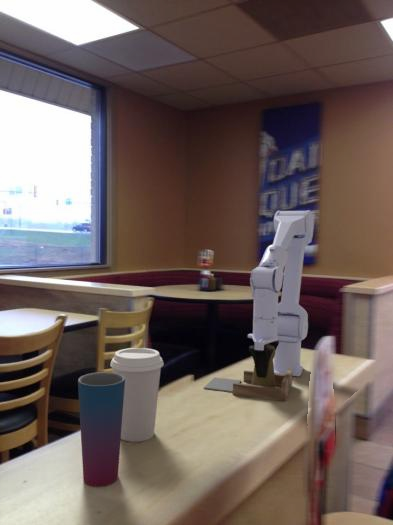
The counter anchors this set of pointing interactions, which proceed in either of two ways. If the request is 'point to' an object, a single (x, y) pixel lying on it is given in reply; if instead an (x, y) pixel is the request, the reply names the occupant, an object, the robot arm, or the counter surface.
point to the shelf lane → (264, 391)
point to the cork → (270, 377)
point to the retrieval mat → (221, 384)
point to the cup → (101, 425)
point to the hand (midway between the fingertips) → (263, 373)
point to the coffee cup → (138, 391)
